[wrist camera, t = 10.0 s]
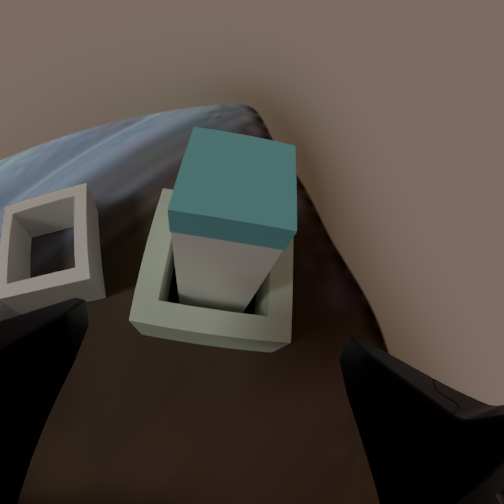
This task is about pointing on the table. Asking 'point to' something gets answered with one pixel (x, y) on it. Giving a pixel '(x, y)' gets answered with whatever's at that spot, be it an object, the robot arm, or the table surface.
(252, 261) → the plug
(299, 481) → the table surface
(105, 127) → the table surface
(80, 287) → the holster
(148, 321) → the socket block
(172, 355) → the table surface
